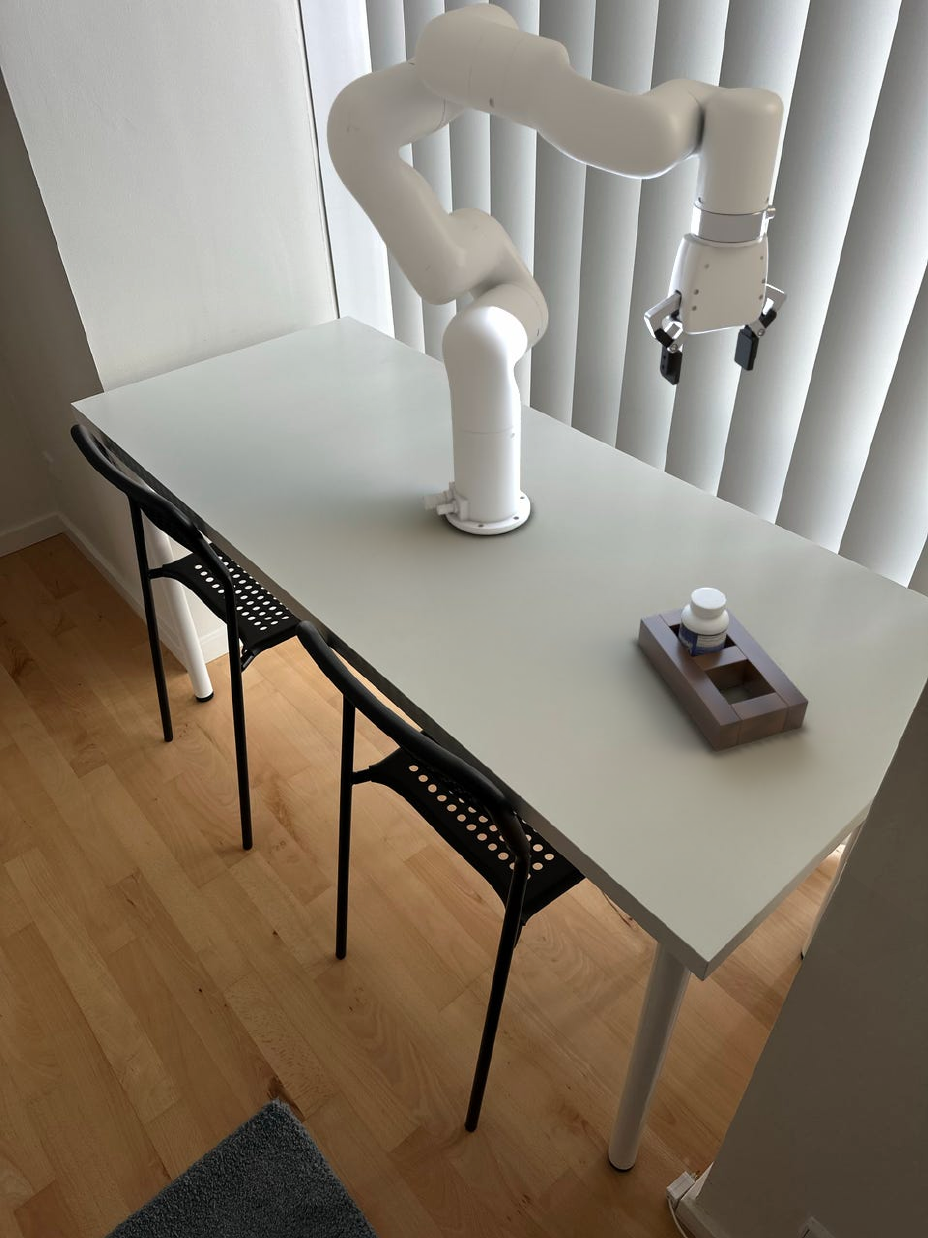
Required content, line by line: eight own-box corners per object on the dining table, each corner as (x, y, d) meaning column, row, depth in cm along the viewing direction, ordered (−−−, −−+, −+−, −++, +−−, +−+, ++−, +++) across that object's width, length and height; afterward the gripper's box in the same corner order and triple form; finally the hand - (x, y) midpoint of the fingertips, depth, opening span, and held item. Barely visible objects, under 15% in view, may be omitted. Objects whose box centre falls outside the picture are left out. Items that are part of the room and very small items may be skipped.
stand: (715, 751, 104) (721, 726, 101) (637, 643, 118) (640, 618, 115) (801, 727, 106) (809, 701, 103) (714, 623, 120) (719, 599, 117)
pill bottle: (670, 647, 117) (679, 585, 111) (713, 644, 117) (724, 581, 111) (681, 677, 113) (691, 614, 106) (726, 674, 113) (738, 610, 107)
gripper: (779, 202, 105) (754, 348, 116) (638, 222, 101) (625, 372, 112) (819, 222, 100) (788, 374, 111) (671, 244, 96) (655, 399, 107)
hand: (706, 372), depth 111 cm, fingers open, 9 cm apart
